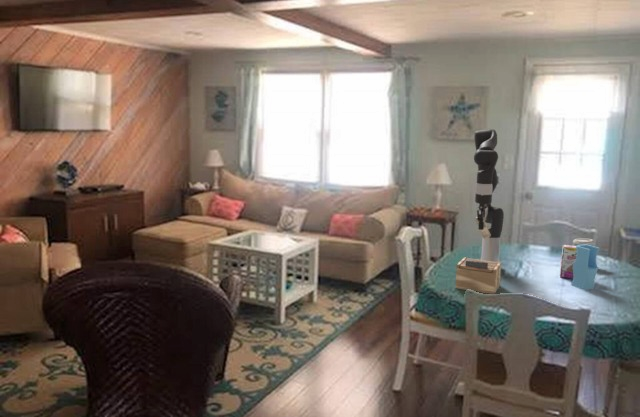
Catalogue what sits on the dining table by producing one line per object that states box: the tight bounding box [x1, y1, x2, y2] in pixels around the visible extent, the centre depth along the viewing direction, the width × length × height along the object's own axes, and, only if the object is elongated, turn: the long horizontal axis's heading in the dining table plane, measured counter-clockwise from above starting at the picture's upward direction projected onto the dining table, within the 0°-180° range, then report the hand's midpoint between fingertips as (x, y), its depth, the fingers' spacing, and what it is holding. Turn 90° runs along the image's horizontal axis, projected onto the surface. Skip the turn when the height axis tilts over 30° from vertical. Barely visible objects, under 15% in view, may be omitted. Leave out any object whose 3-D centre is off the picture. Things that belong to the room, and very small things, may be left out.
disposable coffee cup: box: [572, 238, 595, 246], centre depth 302 cm, size 11×11×15 cm
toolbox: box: [455, 256, 503, 295], centre depth 264 cm, size 15×18×12 cm
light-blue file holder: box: [570, 244, 601, 291], centre depth 265 cm, size 8×8×20 cm
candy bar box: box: [559, 244, 577, 280], centre depth 280 cm, size 11×5×16 cm, turn 71°
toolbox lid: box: [460, 257, 498, 272], centre depth 263 cm, size 15×15×4 cm
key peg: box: [474, 216, 491, 239], centre depth 260 cm, size 3×3×10 cm
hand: (481, 228), depth 260 cm, fingers closed on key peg, 2 cm apart
